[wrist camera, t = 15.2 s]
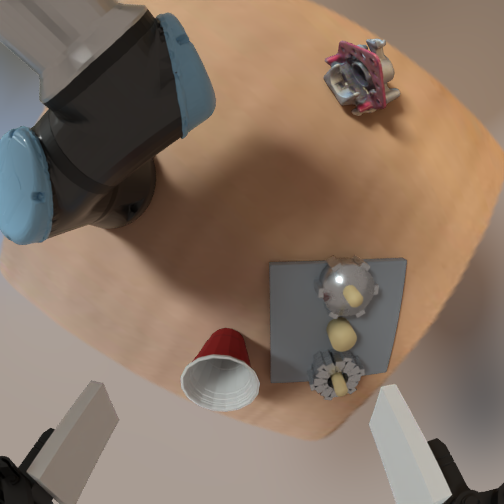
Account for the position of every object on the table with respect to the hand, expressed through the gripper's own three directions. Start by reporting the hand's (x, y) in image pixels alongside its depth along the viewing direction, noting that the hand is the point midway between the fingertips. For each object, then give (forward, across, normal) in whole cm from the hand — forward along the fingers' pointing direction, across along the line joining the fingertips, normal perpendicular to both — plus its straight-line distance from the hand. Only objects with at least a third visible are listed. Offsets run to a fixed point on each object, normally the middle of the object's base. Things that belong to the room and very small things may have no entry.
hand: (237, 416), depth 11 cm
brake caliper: (+32, +16, +26) cm, 44 cm away
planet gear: (+30, +13, -21) cm, 39 cm away
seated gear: (+30, +13, -5) cm, 33 cm away
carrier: (+32, +13, -13) cm, 37 cm away
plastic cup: (+32, -5, -16) cm, 36 cm away
